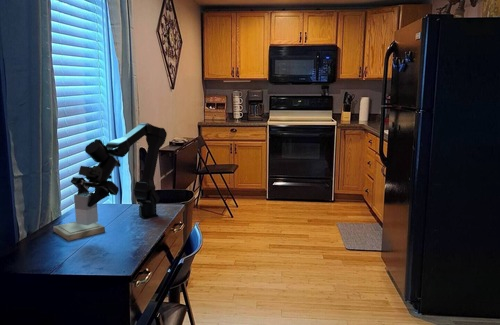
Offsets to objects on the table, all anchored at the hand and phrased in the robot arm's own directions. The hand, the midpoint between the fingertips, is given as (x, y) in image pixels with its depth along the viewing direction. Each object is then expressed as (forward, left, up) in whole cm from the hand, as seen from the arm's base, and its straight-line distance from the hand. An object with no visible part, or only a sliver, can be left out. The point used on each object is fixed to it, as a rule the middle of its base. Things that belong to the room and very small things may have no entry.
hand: (82, 205), depth 146 cm
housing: (-1, -1, -7) cm, 7 cm away
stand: (-1, -12, -13) cm, 18 cm away
